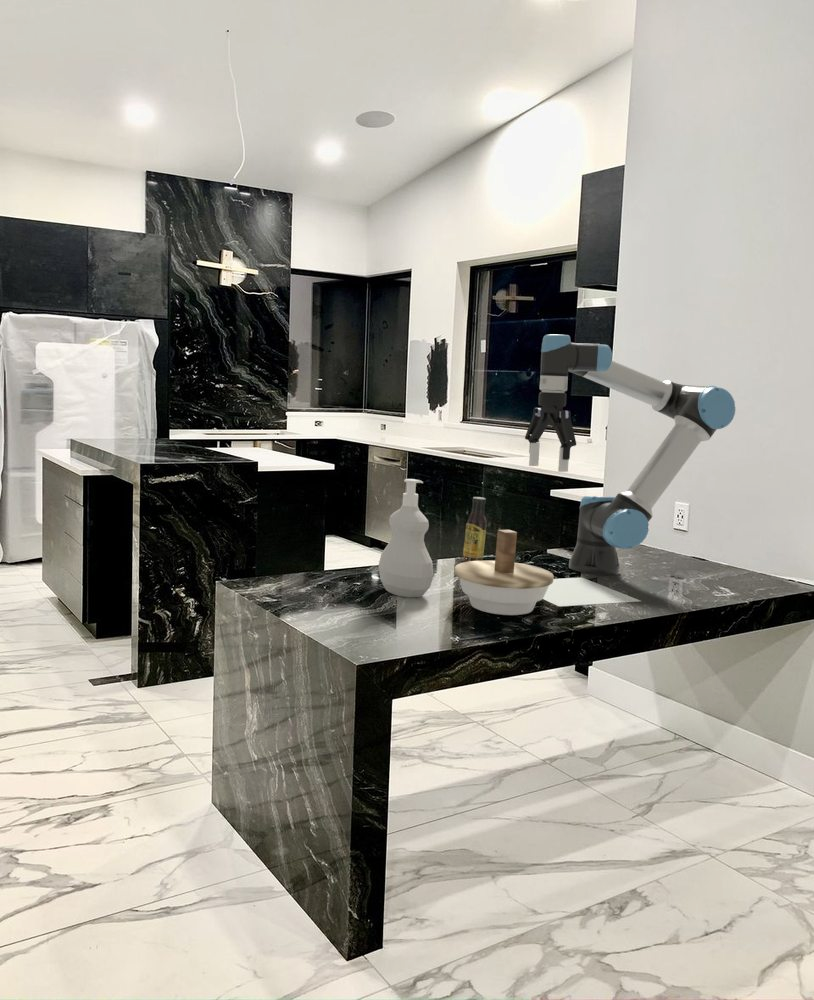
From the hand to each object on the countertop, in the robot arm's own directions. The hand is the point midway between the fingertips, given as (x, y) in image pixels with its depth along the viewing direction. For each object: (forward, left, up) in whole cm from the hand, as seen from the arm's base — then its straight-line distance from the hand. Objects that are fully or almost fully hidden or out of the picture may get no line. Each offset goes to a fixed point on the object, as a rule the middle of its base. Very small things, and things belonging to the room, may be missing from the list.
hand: (547, 468), depth 240 cm
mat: (-1, +14, -32) cm, 35 cm away
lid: (+27, +24, -24) cm, 43 cm away
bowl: (+26, +24, -32) cm, 48 cm away
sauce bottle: (+7, -26, -32) cm, 42 cm away
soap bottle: (+45, +6, -32) cm, 55 cm away
